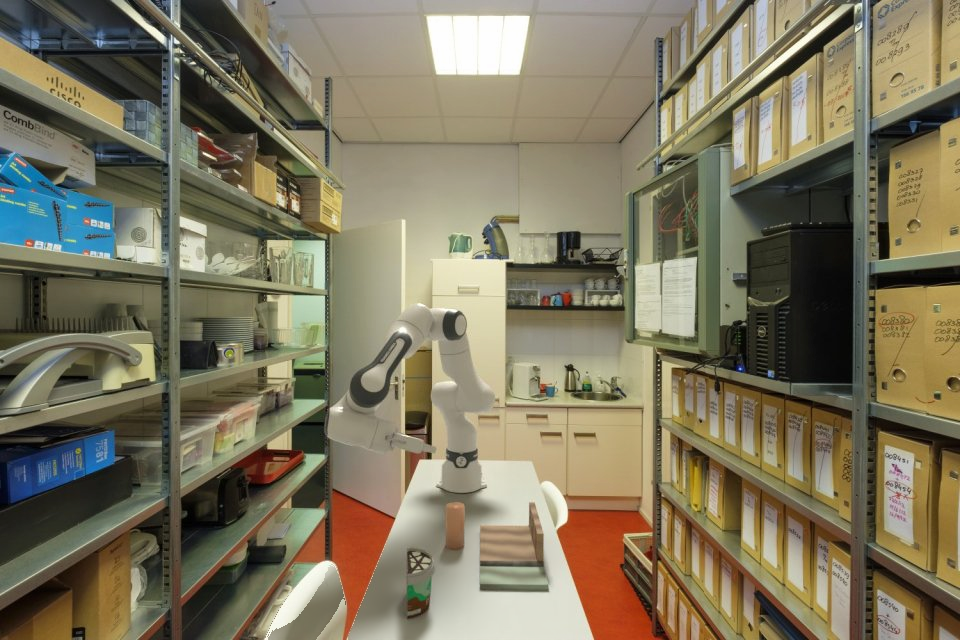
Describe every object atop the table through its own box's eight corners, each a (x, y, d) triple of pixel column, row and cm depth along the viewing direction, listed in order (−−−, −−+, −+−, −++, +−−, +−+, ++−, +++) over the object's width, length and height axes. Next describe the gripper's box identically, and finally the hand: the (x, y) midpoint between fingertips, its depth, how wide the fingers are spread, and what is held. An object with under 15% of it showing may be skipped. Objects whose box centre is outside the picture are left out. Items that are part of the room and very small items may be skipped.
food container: (436, 620, 98) (437, 573, 98) (407, 623, 97) (407, 575, 97) (433, 587, 110) (433, 544, 110) (406, 589, 109) (406, 546, 109)
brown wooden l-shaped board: (480, 532, 139) (480, 501, 139) (534, 532, 139) (534, 502, 139) (479, 589, 110) (480, 550, 110) (548, 589, 110) (548, 551, 110)
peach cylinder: (446, 540, 133) (446, 501, 133) (464, 540, 133) (465, 502, 133) (444, 549, 128) (445, 509, 128) (463, 549, 128) (464, 509, 128)
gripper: (392, 425, 119) (443, 439, 123) (382, 424, 138) (426, 436, 142) (385, 450, 118) (437, 464, 121) (376, 445, 137) (421, 457, 140)
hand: (431, 449), depth 132 cm, fingers open, 8 cm apart
